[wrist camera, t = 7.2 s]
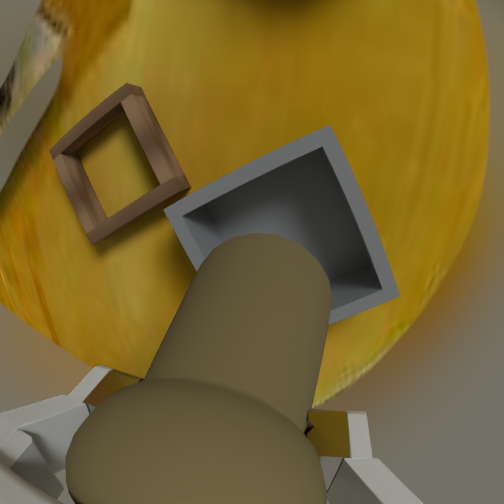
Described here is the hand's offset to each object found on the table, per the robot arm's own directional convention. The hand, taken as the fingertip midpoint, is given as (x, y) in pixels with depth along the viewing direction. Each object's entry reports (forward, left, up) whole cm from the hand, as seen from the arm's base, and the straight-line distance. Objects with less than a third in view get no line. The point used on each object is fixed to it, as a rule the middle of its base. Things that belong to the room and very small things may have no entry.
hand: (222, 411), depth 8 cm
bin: (0, +1, -20) cm, 20 cm away
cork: (0, 0, -7) cm, 7 cm away
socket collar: (-12, -10, -20) cm, 25 cm away
